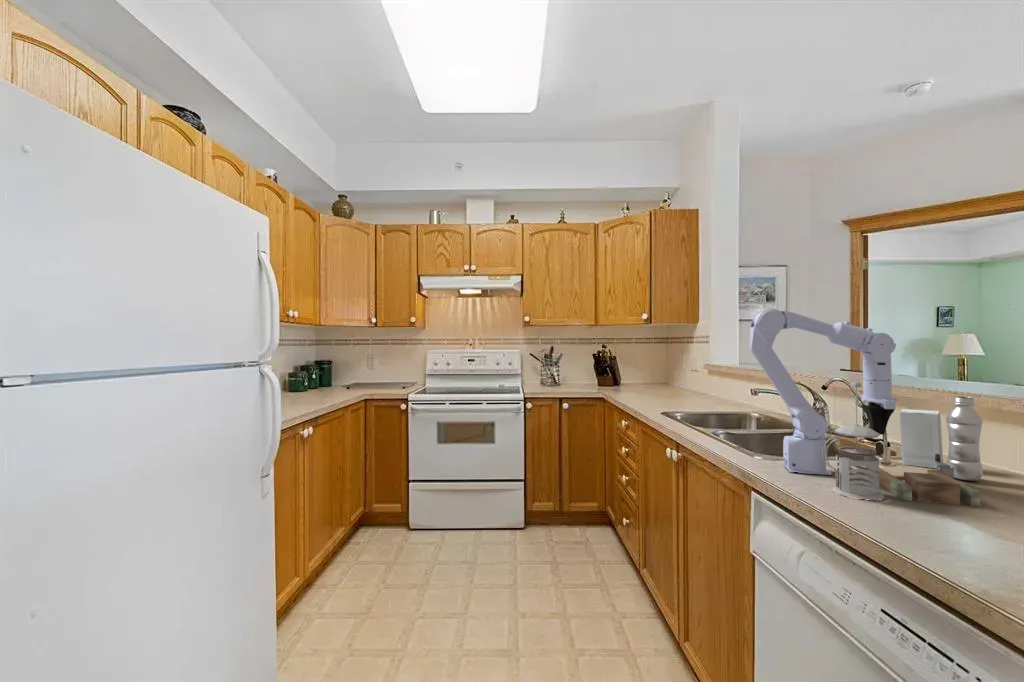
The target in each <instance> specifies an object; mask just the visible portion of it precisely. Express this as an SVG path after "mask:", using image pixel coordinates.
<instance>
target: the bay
mask: <svg viewBox="0 0 1024 682" xmlns="http://www.w3.org/2000/svg"><path fill="white" fill-rule="evenodd" d="M926 472H927V473H926V474H939V475H944V474H942V473H940V472H938V471H937V469H929V468H928V469H927V470H926ZM945 476H947V475H945ZM947 477H948V478H950V479H952V480H954V481H955V482H957V483H959V484H960V485H961V489H960V502H961V501H962V502H963V503H965V504H966V505H969V506H971V507H981V491H979V490H977V489H975V488H973V487H972V486H971V487H970V486H969V485H967V484H964V482H963V483H962V482H961V481H958V479H957V480H956V478H954V479H953V478H951V477H949V476H947ZM879 486H881V487H883V488H885V489H886V490H887V491H889V492H890V493H892V494H893V495H894V496H896V497H897V498H899V499H900V500H901V501H903V500H906V501H905V502H913V497H912V487H911V486H909V485H908V484H906V483H905V477H904V475H898V474H897V475H896V474H891V473H889V472H888V471H886V470H884V469H883V468H881V467H879Z"/></svg>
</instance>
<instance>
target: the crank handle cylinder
mask: <svg viewBox="0 0 1024 682" xmlns="http://www.w3.org/2000/svg"><path fill="white" fill-rule="evenodd" d="M935 463H936V464H938V465H937V469H936V471H938V472H940V473H942V474H944V475H947V476H949V477H951V478H953V479H955V478H954V467H951V466H950V465H948V464H946V463H945V462H944V461H943V462H941V461H940V454H935Z"/></svg>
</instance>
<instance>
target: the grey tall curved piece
mask: <svg viewBox="0 0 1024 682" xmlns="http://www.w3.org/2000/svg"><path fill="white" fill-rule="evenodd" d="M850 386H851V388H855V424H849V425H844V426H840V427H837V428H836V429H835V430H834V432H835V433H836V434H837V435H840V436H846V437H853V438H855V442H856V443H855V444H856V446H850V445H849V446H845V445H844V446H839V445H841V439H840V438H837V437H834V436H833V437H830V438H828V439H826V442H825V444H824V446H823V448H822V456H823V460H824V462H825V463H826V466H828V467H829V468H831V470H834V471H835V486H834V488H833V487H832V488H833V489H832V488H831V489H832V490H833V491H835V492H838V493H840V494H844V495H847V496H852V497H856V498H862V499H870V500H879V499H884V498H885V499H886V496H885V495H884V494H882V492H880V484H879V468H880V464H879V463H880V462H879V460H880V459H879V458H878V457H875V456H876V455H877V454H878V452H877V451H876V450H874V449H872V448H866V447H859V446H858V438H867V439H868V438H871V439H873V438H879V436H880V435H881V434H879V433H877V432H876V431H874V430H872V429H871V427H867V426H864V425H860V424H858V388H863V384H862V383H861V382H860V381H853V382H852V383H851V385H850ZM832 439H833V440H832ZM830 440H831V441H830ZM829 441H830V442H829ZM833 442H835V444H836V445H838V448H837V450H838V451H839V452H840V453H837V454H836V455H835V468H834V467H833V466H832V465H831V464H830V462H829V460H828V449H829V447H830V445H831V444H832V443H833ZM827 443H828V444H827ZM825 445H826V461H825V459H824V447H825ZM853 467H855V468H853ZM854 473H856V474H854ZM855 479H857V480H855ZM885 499H884V500H885Z"/></svg>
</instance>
